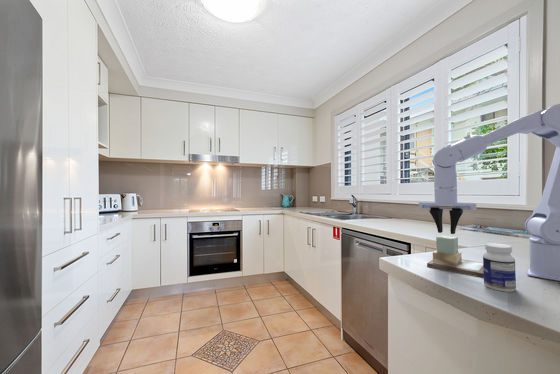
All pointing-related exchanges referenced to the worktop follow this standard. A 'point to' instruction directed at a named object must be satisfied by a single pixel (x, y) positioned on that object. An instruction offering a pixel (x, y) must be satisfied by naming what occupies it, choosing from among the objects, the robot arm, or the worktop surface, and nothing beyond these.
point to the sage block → (447, 244)
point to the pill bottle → (499, 267)
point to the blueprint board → (481, 273)
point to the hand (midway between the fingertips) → (446, 233)
